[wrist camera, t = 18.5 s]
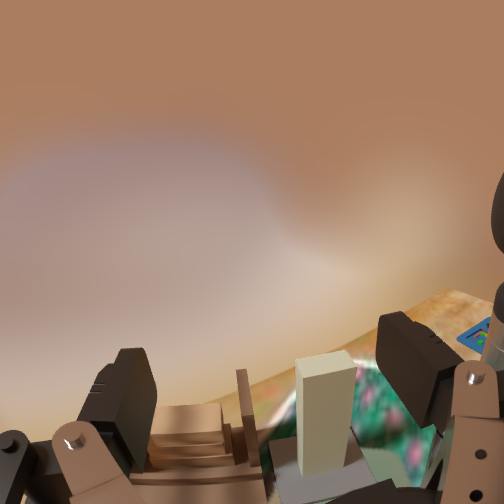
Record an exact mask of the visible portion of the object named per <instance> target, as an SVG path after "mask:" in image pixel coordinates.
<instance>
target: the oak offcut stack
mask: <svg viewBox="0 0 504 504" xmlns="http://www.w3.org/2000/svg"><path fill="white" fill-rule="evenodd" d="M147 451H148V453H149V455H150V457H149V460H150V462H151V464H152V466H153V467H154V469H197V468H213V467H226V466H235V459H234V448H233V437H232V430H231V426H230V423H229V424H224V423H223V413H222V408H221V403H220V402H219V403H209V404H197V405H184V406H164V407H156V408H155V412H154V417H153V422H152V427H151V432H150V438H149V443H148V448H147Z"/></svg>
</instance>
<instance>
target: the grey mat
mask: <svg viewBox="0 0 504 504" xmlns="http://www.w3.org/2000/svg"><path fill="white" fill-rule="evenodd" d="M268 444H269V449H270V454H271V459H272V463H273V468H274V473H275V478H276V483H277V487H278V492H279V497H280V501H281V504H314V503H318V502H323V501H326V500H331V499H335V498H338V497H340V496H342V495H344V494H346V493H348V492H350V491H352V490H356V489H359V488H362V487H366V486H369V485H372V484H375V483H377V482H376V480H375V478H374V476H373V474H372V472H371V470H370V468H369V466H368V464H367V462H366V459H365V458H364V456H363V453H362V451H361V449H360V447H359V445H358V443H357V441H356V439H355V437H354V435H353V433H352V431H351V429H349V436H348V442H347V449H346V455H345V460H344V466H343V468H340V469H336V470H332V471H328V472H324V473H319V474H315V475H311V476H306V477H302V474H301V471H300V468H299V464H298V461H297V436H294V437H288V438H282V439H276V440H270V441H268Z"/></svg>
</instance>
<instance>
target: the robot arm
mask: <svg viewBox="0 0 504 504" xmlns="http://www.w3.org/2000/svg"><path fill="white" fill-rule="evenodd" d="M491 227H492V233H493V237H494V240H495V243H496V244H497V246H498V248H499V249H500V250H501V251H502V252H503V253H504V173H503V175H502V177H501V179H500V181H499V183H498V186H497V189H496V192H495V196H494V200H493V206H492V214H491ZM376 362H377V365H378V368H379V369H380V371H381V372H382V374H383V375H384V377H385V378H386V379H387V381H388V382H389V384H390V385H391V387H392V388H393V389H394V391H395V392H396V394H397V395H398V397H399V398H400V399H401V401H402V402H403V404H404V405H405V407H406V408H407V410H408V411H409V412H410V414H411V415H412V417H413V418H414V420H415V421H416V423H417V424H418V426H419V427H420V429H422V428H424V427H427V426H429V425H432V424H434V426H435V427H436V429H435V431H434V434H433V439H432V444H431V449H430V453H429V458H428V462H427V466H426V470H425V474H424V477H423V480H422V483H421V485H420V488H419V487H399V488H396V487H395V485H394V483H393V481H392V479H391V478H390V479H387V480H385V481H382V482H378V483H375V484H372V485H369V486H366V487H362V488H359V489H356V490H352V491H350V492H348V493H346V494H344V495H342V496H340V497H338V498H336V499H334V500H332V501H330V502H328V503H326V504H504V282H503V283H502V284H501V285H500V286H499V288H498V290H497V292H496V296H495V302H494V306H493V311H492V316H491V320H490V325H489V329H488V333H487V337H486V341H485V345H484V349H483V352H482V356H481V359H480V361H476V360H470V361H464V360H463V359H462V358H461V357H460V356H459V355H458V354H457V353H456V352H455V351H453V350H452V349H451V348H450V347H449V346H448V345H447V344H446V343H445V342H443V340H442V339H440V338H439V337H438V336H436V334H435V333H434V332H433V331H432V330H431V329H429V328H428V327H427V326H425V325H422V324H420V323H418V322H416V321H415V322H413V321H412V320H411V319H410V318H409V317H408V316H406V315H405V314H404V313H403V312H402V311H398V312H394V313H390V314H385V315H382V316H380V318H379V322H378V333H377V343H376ZM156 403H157V389H156V384H155V381H154V378H153V375H152V372H151V369H150V365H149V362H148V359H147V356H146V353H145V351H144V349H143V348H129V349H128V348H127V349H121V350H120V351H119V353H118V356H117V358H116V360H115V362H114V364H108V365H106V366H105V367H104V368H103V369H102V370H101V371H100V372H99V373H98V375H97V377H96V379H95V382H94V385H93V386H92V388H91V390H90V393H89V394H88V397H87V399H86V401H85V403H84V405H83V407H82V410H81V412H80V414H79V416H78V418H77V420H76V421H74V422H70V423H67V424H65V425H63V426H62V427H60V428H59V429H58V430H57V431H56V432H55V434H54V436H53V438H52V440H48V441H41V442H33V443H30V441H29V440H28V438H27V437H26V435H25V434H24V433H22V432H21V431H17V430H10V431H6V432H3V433H2V434H0V504H20V503H21V500H22V497H23V494H25V495H26V496H27V498H26V501H25V504H146V503H145V502H144V500H143V499H142V498H141V496H140V495H139V494H138V492H137V491H136V490H135V488H134V487H133V485H132V484H131V483H130V481H129V478H130V473H135V474H143V470H144V465H145V459H146V453H147V448H148V443H149V438H150V432H151V427H152V422H153V417H154V412H155V408H156Z"/></svg>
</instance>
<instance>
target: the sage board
mask: <svg viewBox="0 0 504 504" xmlns="http://www.w3.org/2000/svg"><path fill="white" fill-rule="evenodd" d="M295 369H296V409H297V461H298V464H299V468H300V471H301V474H302V477H306V476H311V475H315V474H319V473H324V472H328V471H332V470H336V469H340V468H343V466H344V460H345V455H346V449H347V442H348V436H349V429H350V422H351V415H352V407H353V399H354V391H355V381H356V371H357V366H356V364H355V363H354V361H353V360H352V359H351V357H350V356H349V354H348V353H347V351H346V350H341V351H336V352H331V353H326V354H321V355H316V356H311V357H305V358H300V359H296V360H295Z"/></svg>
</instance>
